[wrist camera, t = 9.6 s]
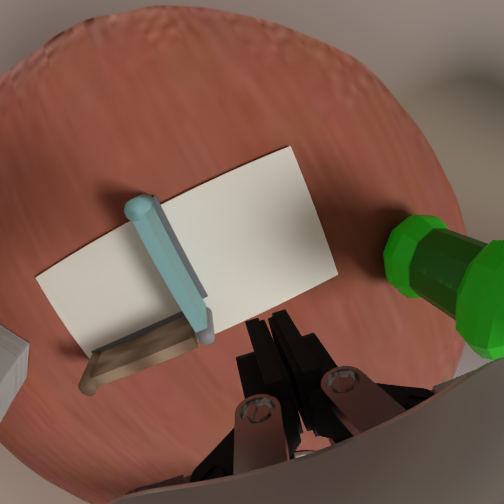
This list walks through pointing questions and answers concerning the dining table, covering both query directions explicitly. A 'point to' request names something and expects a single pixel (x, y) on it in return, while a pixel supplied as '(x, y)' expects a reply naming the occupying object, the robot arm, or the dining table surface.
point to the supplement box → (11, 367)
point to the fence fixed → (138, 354)
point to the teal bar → (170, 265)
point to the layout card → (199, 257)
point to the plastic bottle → (451, 278)
